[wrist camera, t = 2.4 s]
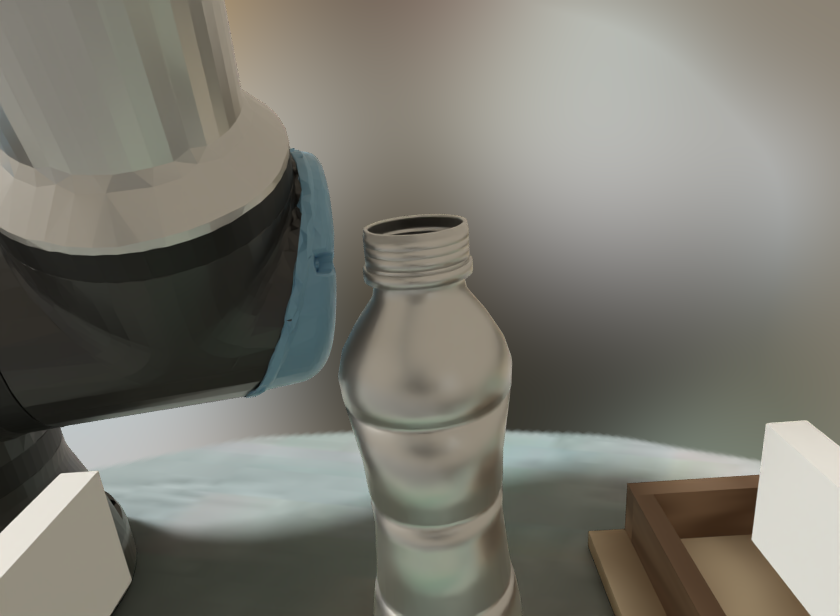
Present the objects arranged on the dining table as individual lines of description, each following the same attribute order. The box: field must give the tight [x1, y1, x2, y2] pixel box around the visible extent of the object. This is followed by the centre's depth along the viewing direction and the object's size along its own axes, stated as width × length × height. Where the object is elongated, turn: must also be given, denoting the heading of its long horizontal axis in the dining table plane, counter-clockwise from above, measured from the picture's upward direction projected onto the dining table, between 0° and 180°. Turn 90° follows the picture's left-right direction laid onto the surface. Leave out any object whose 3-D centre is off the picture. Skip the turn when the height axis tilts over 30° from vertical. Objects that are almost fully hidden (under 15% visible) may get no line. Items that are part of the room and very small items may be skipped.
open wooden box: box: [588, 475, 811, 616], centre depth 25 cm, size 16×12×4 cm
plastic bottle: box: [338, 214, 522, 616], centre depth 23 cm, size 6×7×20 cm
